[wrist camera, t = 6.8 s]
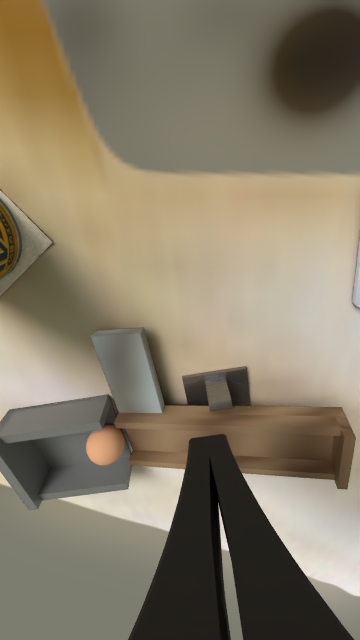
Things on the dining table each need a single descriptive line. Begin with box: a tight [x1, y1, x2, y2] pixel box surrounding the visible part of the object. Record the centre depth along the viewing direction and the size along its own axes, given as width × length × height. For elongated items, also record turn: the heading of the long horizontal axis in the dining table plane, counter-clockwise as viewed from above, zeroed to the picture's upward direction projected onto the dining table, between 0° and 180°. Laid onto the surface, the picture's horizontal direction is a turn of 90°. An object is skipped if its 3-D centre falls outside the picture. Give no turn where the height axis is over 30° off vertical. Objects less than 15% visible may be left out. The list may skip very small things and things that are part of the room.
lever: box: [91, 328, 356, 489], centre depth 18 cm, size 16×12×2 cm
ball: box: [86, 425, 125, 465], centre depth 21 cm, size 3×3×3 cm
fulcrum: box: [182, 366, 250, 412], centre depth 21 cm, size 5×8×3 cm, turn 10°
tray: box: [0, 395, 132, 510], centre depth 22 cm, size 8×8×4 cm
